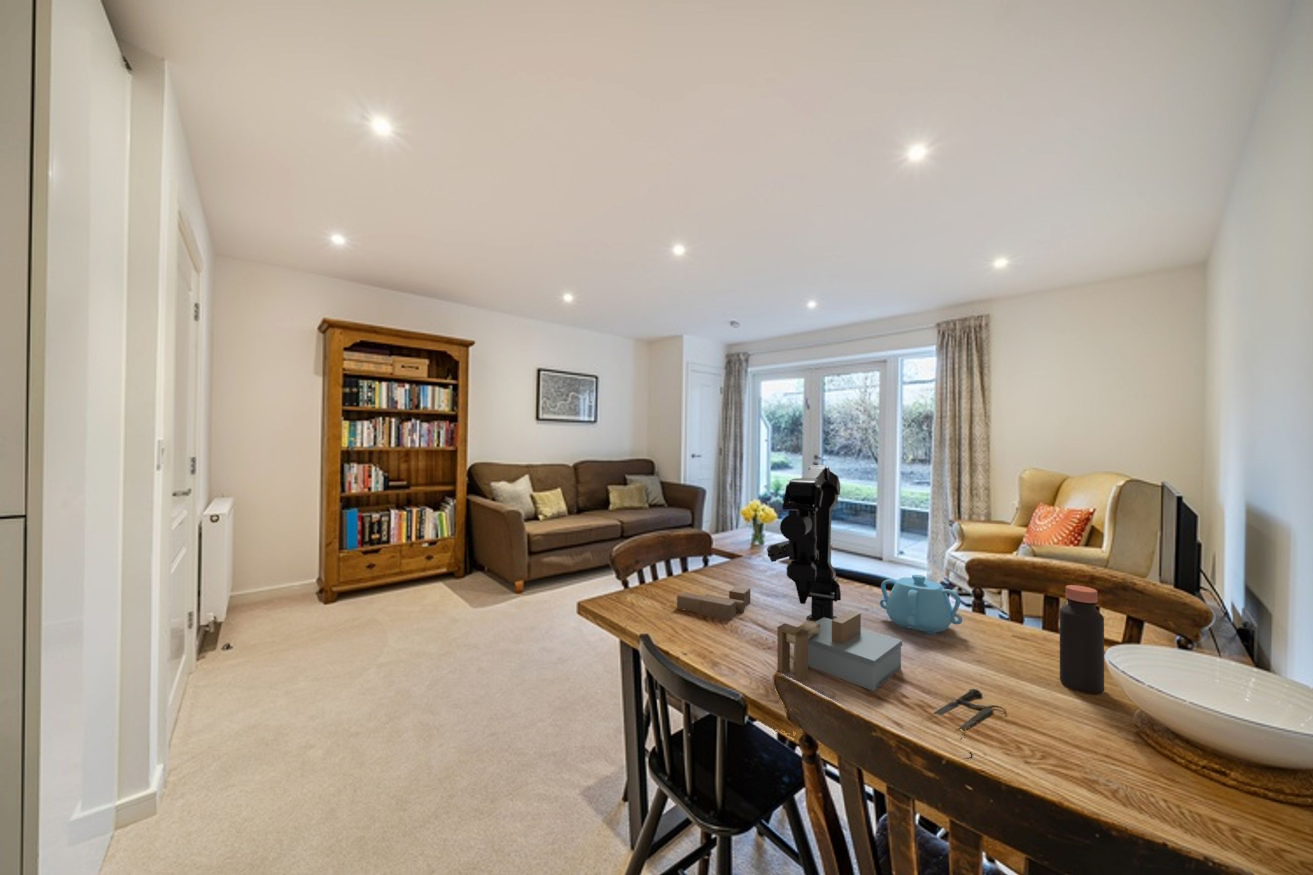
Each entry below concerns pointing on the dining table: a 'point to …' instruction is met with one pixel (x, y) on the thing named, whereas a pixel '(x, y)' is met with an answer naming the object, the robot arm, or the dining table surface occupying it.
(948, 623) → the decorative pot
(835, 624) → the lid
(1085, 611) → the bottle
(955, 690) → the dining table surface
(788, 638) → the wooden key
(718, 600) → the wooden block set
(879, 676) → the toolbox
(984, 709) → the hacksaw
